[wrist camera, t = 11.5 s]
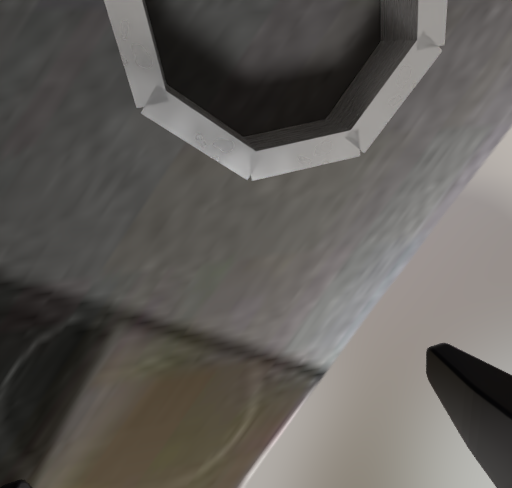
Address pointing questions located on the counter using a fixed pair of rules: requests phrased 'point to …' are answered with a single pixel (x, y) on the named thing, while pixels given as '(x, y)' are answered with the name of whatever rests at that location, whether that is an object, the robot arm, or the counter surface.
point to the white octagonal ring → (300, 136)
